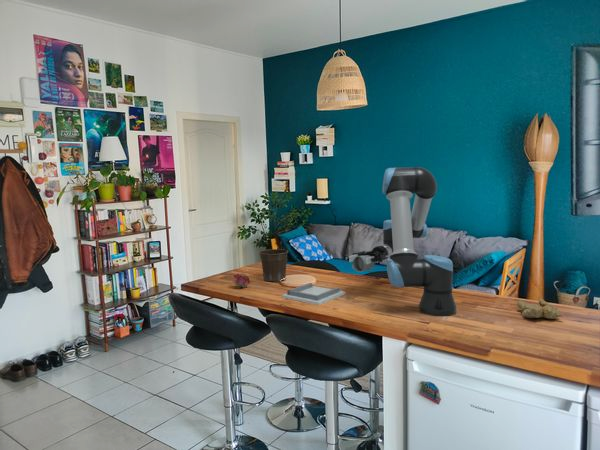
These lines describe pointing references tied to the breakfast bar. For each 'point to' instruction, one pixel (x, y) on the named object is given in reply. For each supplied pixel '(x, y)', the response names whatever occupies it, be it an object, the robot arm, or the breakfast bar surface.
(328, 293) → the tray
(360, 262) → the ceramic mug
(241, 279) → the flower
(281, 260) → the plant pot
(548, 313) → the ginger root
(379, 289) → the breakfast bar surface
